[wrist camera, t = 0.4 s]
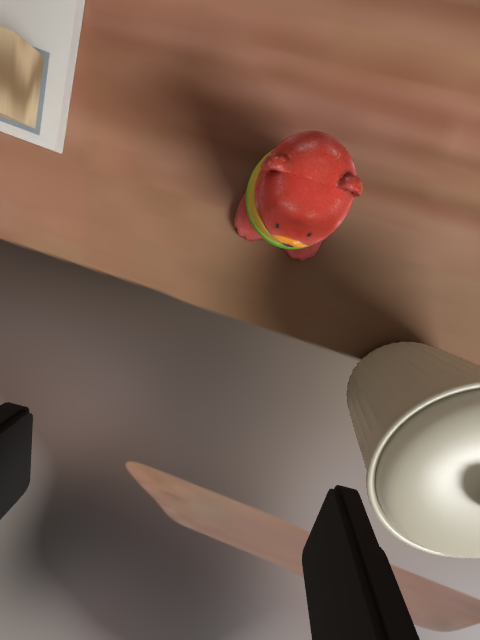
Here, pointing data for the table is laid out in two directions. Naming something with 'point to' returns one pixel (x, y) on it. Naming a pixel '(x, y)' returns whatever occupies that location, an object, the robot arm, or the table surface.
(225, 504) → the table surface
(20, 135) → the board
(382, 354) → the canister
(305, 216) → the stacking bear
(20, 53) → the oak base block
